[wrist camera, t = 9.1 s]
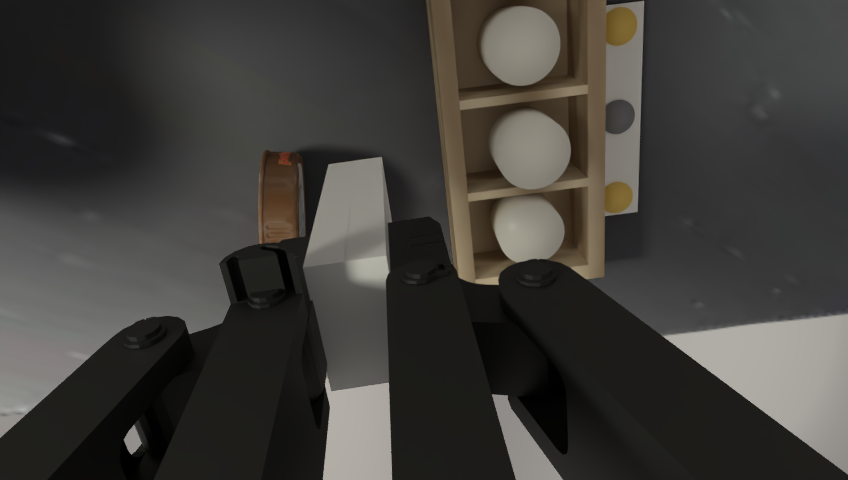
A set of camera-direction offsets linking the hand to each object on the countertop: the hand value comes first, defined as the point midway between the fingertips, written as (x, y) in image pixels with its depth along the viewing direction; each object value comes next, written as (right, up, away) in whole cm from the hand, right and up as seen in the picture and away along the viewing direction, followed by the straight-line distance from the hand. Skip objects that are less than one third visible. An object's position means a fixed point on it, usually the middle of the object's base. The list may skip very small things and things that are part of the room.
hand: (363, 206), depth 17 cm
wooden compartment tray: (+8, +7, +28) cm, 30 cm away
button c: (+8, +13, +24) cm, 28 cm away
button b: (+9, +6, +25) cm, 27 cm away
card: (+16, +8, +28) cm, 34 cm away
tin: (-9, 0, +31) cm, 32 cm away
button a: (+9, +1, +29) cm, 31 cm away
